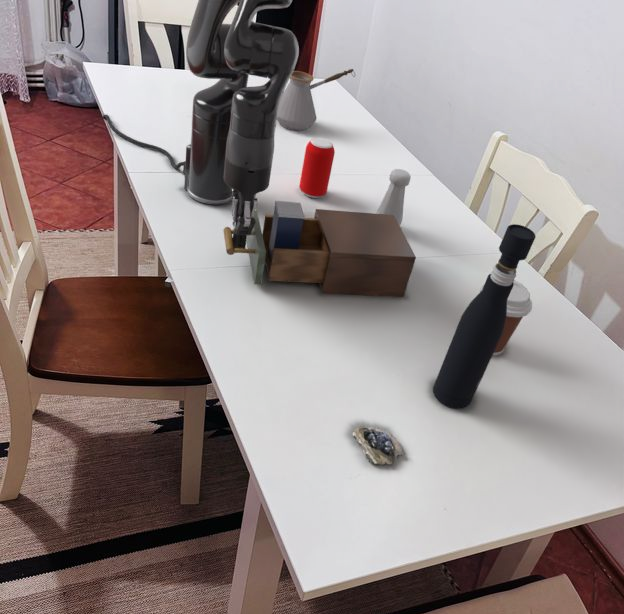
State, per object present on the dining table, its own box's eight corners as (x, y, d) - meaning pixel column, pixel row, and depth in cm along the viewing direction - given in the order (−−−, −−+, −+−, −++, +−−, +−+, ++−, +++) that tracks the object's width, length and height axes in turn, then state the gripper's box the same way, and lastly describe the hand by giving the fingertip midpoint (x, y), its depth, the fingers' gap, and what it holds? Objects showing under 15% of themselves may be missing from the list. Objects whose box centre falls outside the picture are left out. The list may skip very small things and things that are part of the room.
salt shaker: (396, 237, 140) (413, 181, 131) (371, 229, 140) (385, 173, 132) (400, 225, 144) (417, 170, 136) (375, 217, 144) (390, 162, 136)
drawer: (226, 283, 113) (229, 249, 109) (220, 240, 123) (223, 207, 118) (335, 287, 119) (342, 255, 114) (321, 246, 128) (327, 215, 124)
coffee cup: (459, 323, 120) (481, 268, 113) (506, 332, 121) (531, 279, 113) (463, 355, 113) (487, 299, 106) (514, 364, 114) (541, 310, 106)
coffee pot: (282, 134, 168) (291, 74, 159) (264, 115, 175) (272, 57, 166) (353, 133, 178) (366, 77, 169) (334, 115, 185) (344, 61, 176)
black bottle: (429, 378, 106) (492, 215, 87) (466, 382, 107) (537, 222, 89) (436, 407, 101) (504, 241, 83) (475, 411, 103) (551, 248, 84)
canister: (270, 265, 118) (278, 213, 111) (267, 251, 121) (275, 200, 115) (295, 266, 119) (304, 215, 113) (291, 252, 122) (300, 202, 116)
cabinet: (321, 293, 118) (331, 252, 113) (307, 248, 129) (315, 208, 123) (403, 296, 123) (416, 257, 117) (383, 252, 134) (394, 214, 128)
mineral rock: (380, 475, 89) (384, 466, 88) (338, 439, 92) (341, 430, 91) (410, 451, 93) (414, 442, 92) (369, 418, 97) (372, 409, 95)
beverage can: (320, 203, 144) (330, 151, 137) (294, 193, 145) (302, 141, 137) (329, 192, 149) (340, 142, 141) (304, 183, 150) (313, 133, 142)
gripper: (222, 136, 109) (214, 226, 120) (229, 173, 100) (219, 268, 111) (267, 141, 112) (255, 229, 123) (277, 178, 102) (264, 270, 113)
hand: (238, 247), depth 117 cm, fingers closed
